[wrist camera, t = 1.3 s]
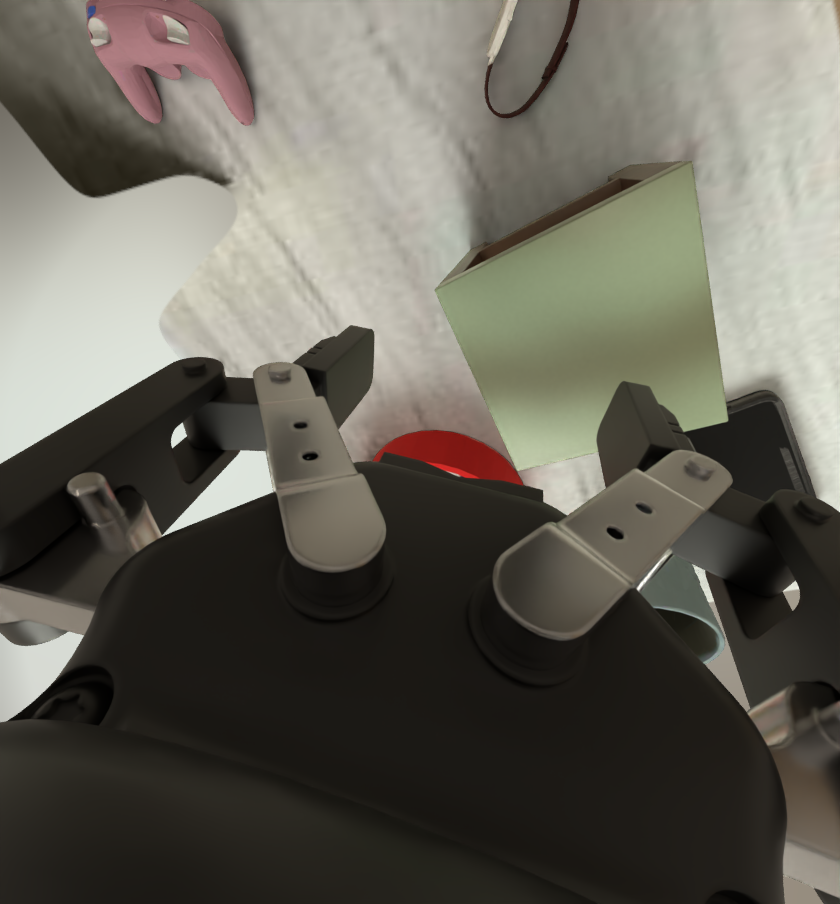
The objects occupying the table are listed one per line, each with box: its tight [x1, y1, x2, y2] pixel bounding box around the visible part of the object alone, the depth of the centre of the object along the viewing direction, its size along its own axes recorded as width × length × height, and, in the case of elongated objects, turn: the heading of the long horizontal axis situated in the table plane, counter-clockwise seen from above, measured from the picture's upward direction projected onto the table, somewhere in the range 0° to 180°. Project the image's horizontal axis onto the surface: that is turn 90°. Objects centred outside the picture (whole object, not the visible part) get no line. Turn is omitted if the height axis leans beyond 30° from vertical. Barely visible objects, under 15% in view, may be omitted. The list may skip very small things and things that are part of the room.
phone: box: [684, 391, 816, 502], centre depth 36 cm, size 8×1×15 cm
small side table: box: [435, 161, 728, 471], centre depth 26 cm, size 13×12×14 cm
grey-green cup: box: [640, 555, 725, 664], centre depth 40 cm, size 10×10×12 cm
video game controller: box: [86, 0, 254, 126], centre depth 27 cm, size 10×5×7 cm, turn 88°
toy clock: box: [373, 430, 523, 485], centre depth 46 cm, size 20×6×20 cm
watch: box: [485, 0, 579, 118], centre depth 23 cm, size 8×5×4 cm, turn 159°
